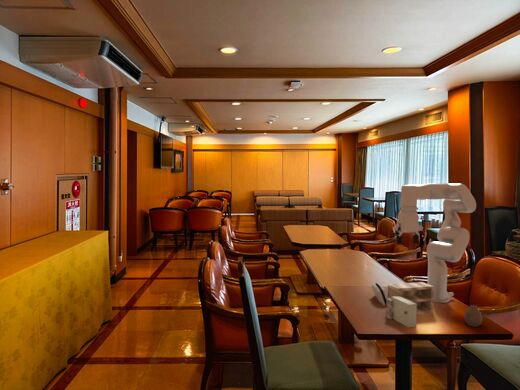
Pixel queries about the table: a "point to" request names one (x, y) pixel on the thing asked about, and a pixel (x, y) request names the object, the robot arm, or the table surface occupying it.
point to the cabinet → (411, 296)
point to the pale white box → (404, 311)
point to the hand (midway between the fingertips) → (407, 243)
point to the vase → (473, 316)
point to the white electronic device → (379, 292)
